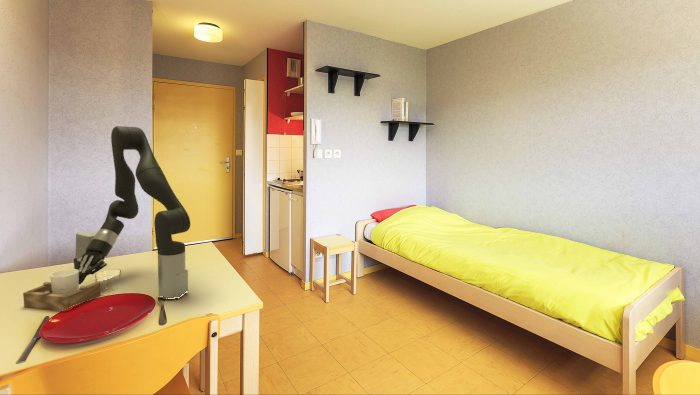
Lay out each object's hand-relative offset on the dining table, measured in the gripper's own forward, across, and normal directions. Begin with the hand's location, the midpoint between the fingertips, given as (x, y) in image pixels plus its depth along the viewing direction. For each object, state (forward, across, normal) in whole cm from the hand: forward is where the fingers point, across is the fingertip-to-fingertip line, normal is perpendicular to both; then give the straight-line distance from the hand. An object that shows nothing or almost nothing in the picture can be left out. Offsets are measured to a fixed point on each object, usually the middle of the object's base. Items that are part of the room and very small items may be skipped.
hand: (76, 283), depth 126 cm
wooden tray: (+6, 0, 0) cm, 6 cm away
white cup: (+6, 0, 0) cm, 6 cm away
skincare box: (-14, -19, +21) cm, 32 cm away
